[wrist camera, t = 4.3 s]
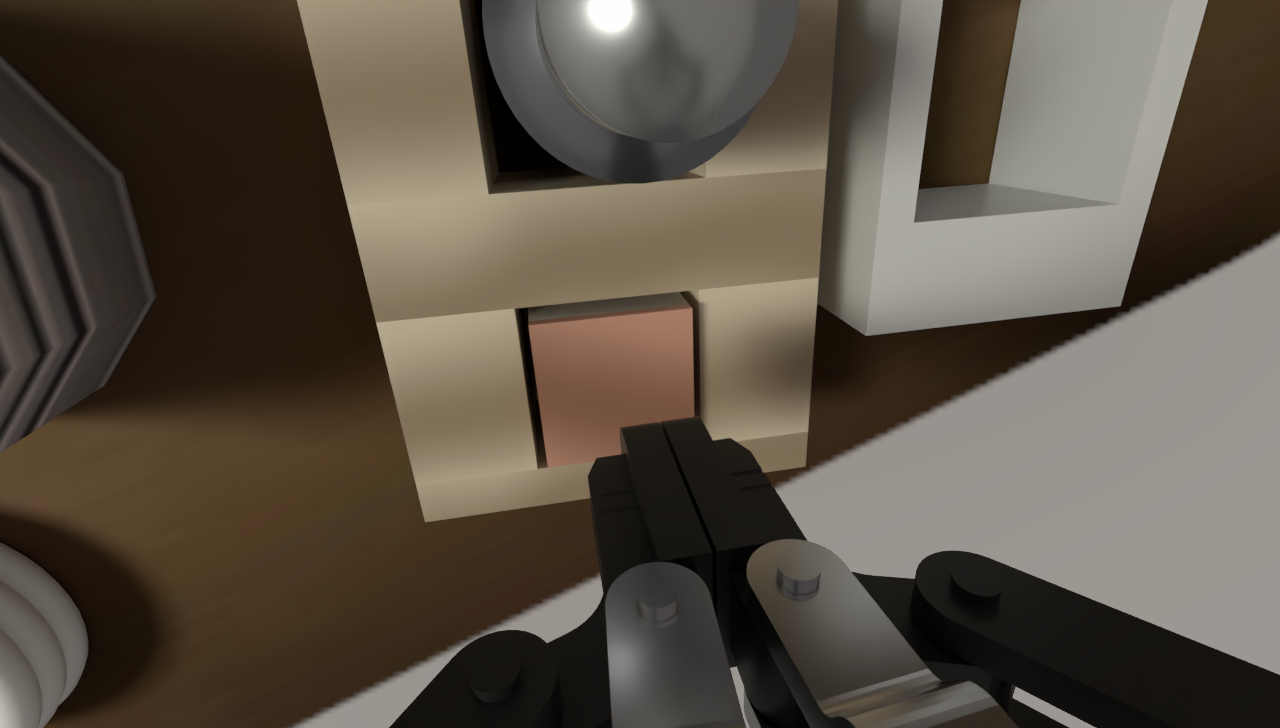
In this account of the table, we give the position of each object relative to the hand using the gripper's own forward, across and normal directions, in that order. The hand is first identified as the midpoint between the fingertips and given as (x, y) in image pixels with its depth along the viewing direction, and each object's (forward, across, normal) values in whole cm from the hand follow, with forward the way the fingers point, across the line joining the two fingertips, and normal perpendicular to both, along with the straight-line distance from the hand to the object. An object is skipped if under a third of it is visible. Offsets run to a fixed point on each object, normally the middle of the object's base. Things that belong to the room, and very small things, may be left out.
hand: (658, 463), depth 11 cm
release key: (+9, 0, +1) cm, 9 cm away
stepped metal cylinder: (+10, 0, -7) cm, 12 cm away
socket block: (+10, 0, -3) cm, 10 cm away
